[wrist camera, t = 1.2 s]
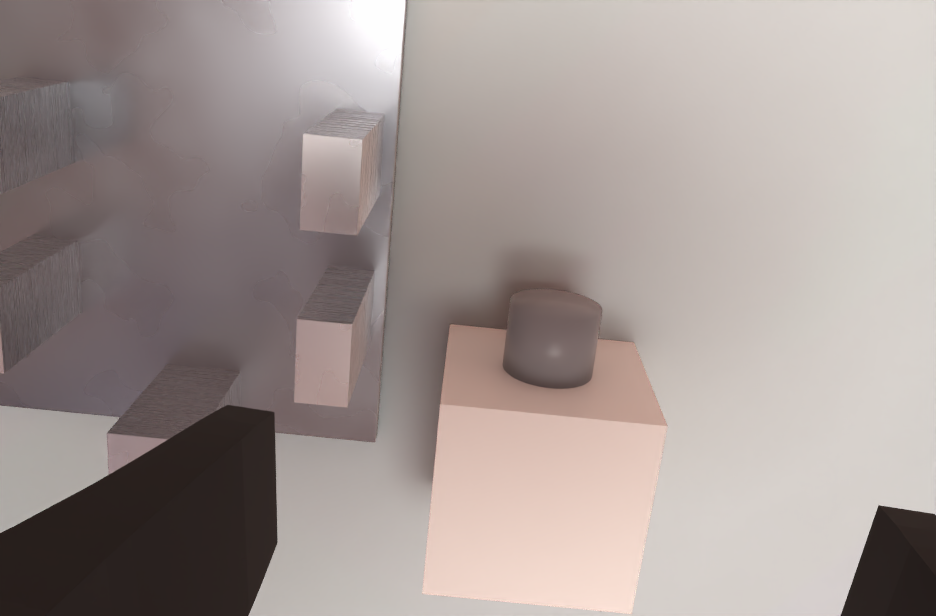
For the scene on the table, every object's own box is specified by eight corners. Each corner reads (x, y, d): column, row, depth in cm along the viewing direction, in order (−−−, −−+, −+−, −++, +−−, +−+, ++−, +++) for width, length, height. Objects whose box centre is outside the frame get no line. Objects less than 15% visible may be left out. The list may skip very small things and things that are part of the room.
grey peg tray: (377, 434, 25) (353, 523, 21) (-232, 373, 25) (-379, 451, 21) (408, -16, 21) (387, -16, 17) (-318, -90, 21) (-520, -110, 17)
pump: (606, 500, 26) (631, 613, 21) (434, 483, 26) (422, 593, 21) (643, 281, 24) (681, 355, 19) (455, 263, 24) (446, 332, 19)
